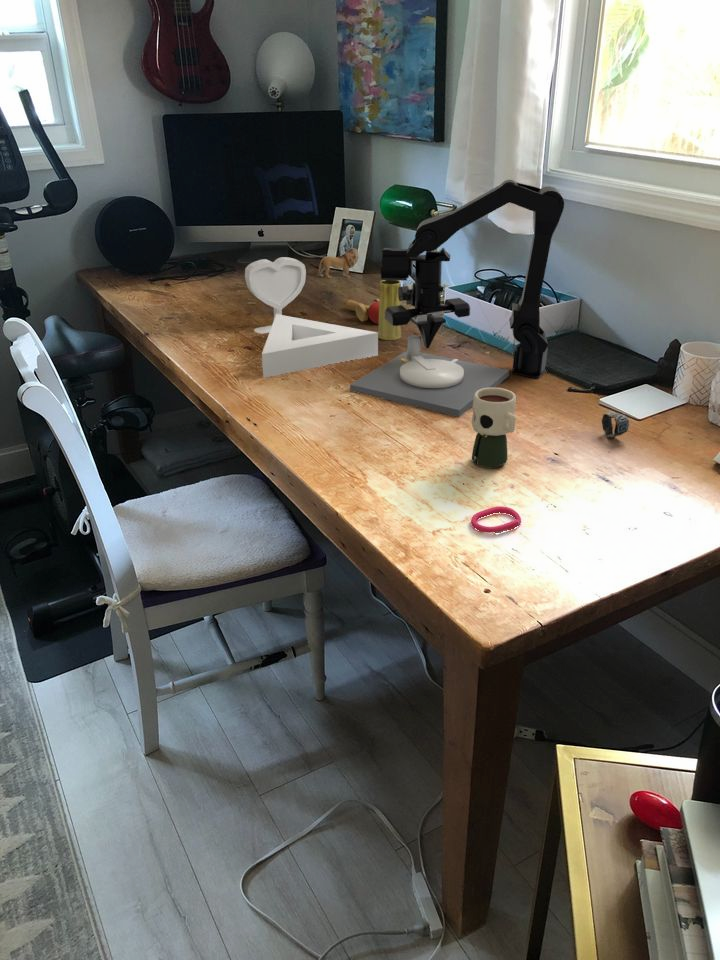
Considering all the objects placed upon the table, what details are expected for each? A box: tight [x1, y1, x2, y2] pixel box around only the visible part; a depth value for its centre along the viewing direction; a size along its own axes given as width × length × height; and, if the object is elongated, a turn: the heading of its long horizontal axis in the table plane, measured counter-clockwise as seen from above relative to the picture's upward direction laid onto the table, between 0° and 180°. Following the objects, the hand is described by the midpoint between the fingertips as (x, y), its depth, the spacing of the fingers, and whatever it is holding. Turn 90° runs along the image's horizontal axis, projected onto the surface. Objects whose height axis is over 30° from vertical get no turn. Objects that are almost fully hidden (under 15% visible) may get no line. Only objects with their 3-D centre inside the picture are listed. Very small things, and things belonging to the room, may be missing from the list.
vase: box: [377, 279, 402, 341], centre depth 193 cm, size 6×6×14 cm
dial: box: [400, 334, 464, 388], centre depth 168 cm, size 18×14×6 cm
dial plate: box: [349, 350, 510, 418], centre depth 168 cm, size 26×26×2 cm
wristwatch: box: [601, 411, 630, 438], centre depth 143 cm, size 3×5×5 cm, turn 16°
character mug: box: [470, 387, 517, 469], centre depth 132 cm, size 11×7×13 cm, turn 30°
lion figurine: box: [314, 247, 359, 280], centre depth 248 cm, size 15×5×9 cm, turn 105°
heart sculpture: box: [244, 256, 307, 335], centre depth 199 cm, size 16×5×18 cm, turn 116°
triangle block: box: [261, 314, 379, 379], centre depth 180 cm, size 30×26×6 cm
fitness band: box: [470, 506, 522, 534], centre depth 118 cm, size 8×6×2 cm
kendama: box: [345, 298, 380, 325], centre depth 210 cm, size 8×6×18 cm
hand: (426, 347), depth 175 cm, fingers closed
